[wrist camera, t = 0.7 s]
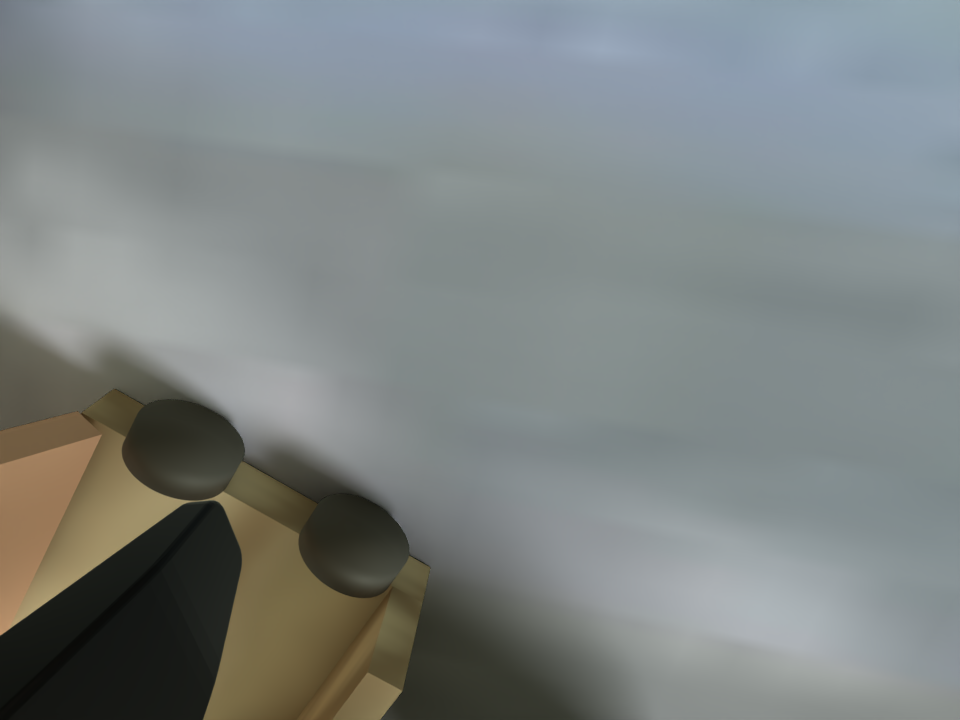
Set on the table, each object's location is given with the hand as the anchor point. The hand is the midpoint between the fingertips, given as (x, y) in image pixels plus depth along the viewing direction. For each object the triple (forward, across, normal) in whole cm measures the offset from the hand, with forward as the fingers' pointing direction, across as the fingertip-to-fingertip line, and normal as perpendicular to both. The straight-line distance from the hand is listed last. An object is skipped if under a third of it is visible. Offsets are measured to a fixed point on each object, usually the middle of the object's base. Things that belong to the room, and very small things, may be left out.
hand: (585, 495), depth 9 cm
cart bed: (+13, +16, +15) cm, 25 cm away
